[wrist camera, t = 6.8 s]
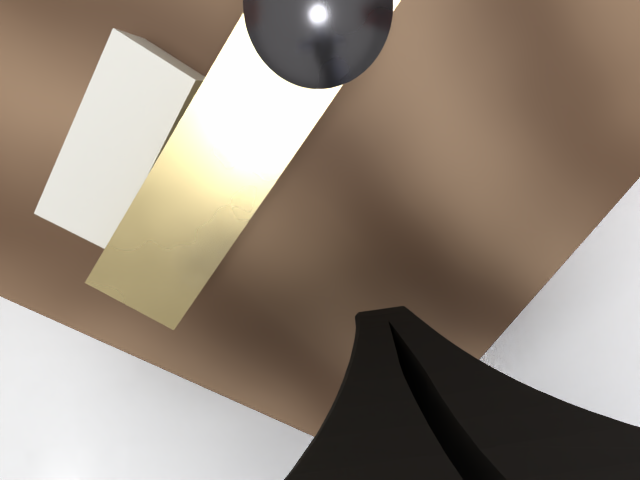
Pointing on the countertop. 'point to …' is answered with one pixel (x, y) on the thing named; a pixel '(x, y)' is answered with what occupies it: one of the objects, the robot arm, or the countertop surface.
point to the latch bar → (235, 145)
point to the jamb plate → (345, 184)
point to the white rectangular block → (116, 136)
